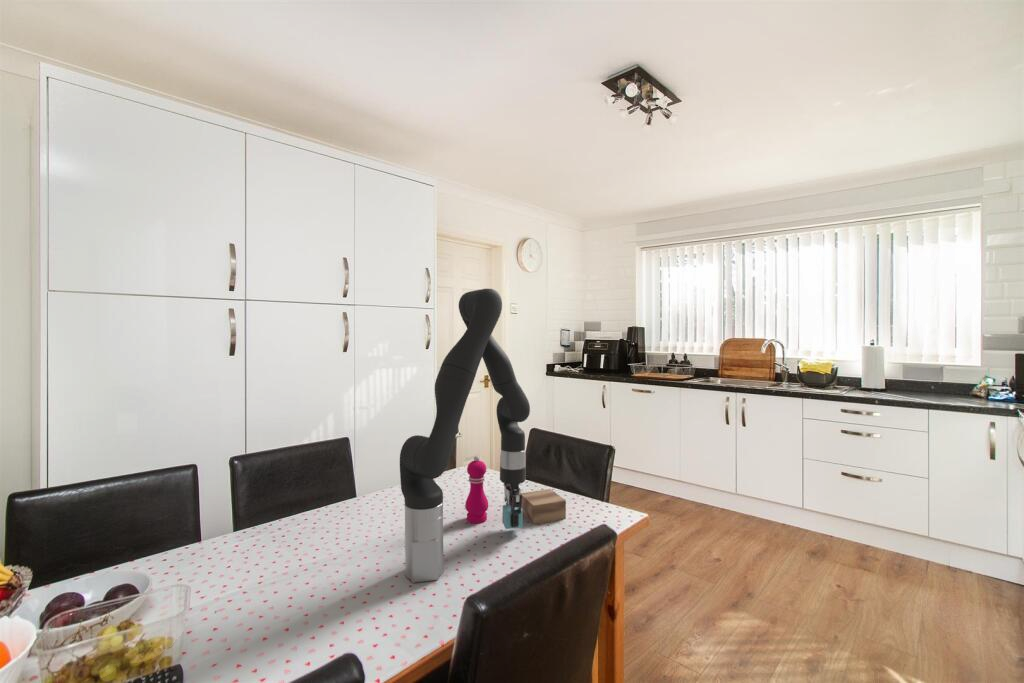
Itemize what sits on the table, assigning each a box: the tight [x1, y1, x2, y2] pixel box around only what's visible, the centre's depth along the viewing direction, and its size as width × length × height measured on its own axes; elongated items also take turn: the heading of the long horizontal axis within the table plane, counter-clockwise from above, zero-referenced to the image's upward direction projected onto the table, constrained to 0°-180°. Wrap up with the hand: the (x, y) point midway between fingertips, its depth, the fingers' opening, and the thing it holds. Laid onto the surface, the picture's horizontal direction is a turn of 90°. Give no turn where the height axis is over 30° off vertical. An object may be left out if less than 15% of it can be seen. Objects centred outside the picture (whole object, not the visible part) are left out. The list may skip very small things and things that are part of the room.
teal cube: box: [501, 504, 524, 530], centre depth 135 cm, size 5×5×5 cm
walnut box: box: [520, 488, 567, 525], centre depth 148 cm, size 11×11×6 cm
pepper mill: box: [464, 455, 489, 524], centre depth 144 cm, size 7×7×20 cm
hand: (512, 522), depth 135 cm, fingers closed on teal cube, 5 cm apart
